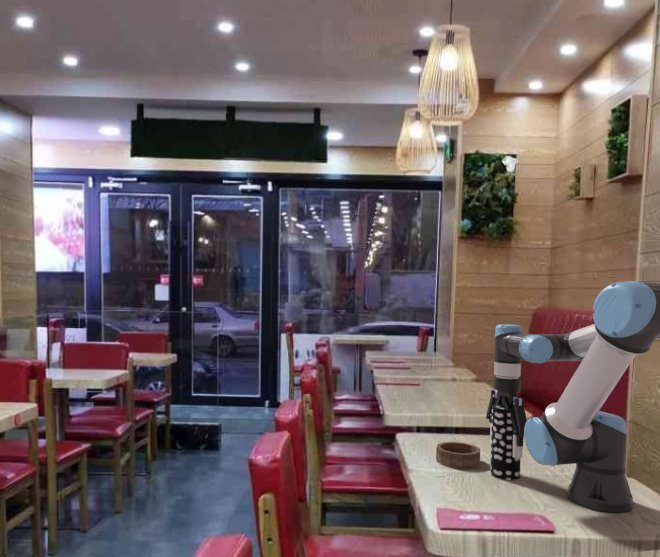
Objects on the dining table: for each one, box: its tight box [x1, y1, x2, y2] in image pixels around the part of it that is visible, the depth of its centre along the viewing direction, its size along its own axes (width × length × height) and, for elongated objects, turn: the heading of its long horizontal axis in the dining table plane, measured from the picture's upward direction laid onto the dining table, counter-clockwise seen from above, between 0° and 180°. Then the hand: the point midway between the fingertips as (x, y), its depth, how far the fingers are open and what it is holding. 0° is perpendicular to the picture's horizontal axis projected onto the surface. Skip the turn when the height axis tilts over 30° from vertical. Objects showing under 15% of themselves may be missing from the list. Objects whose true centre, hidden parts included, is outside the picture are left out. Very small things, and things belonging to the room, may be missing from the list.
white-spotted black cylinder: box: [490, 405, 522, 481], centre depth 159 cm, size 8×8×20 cm
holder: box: [435, 441, 481, 470], centre depth 170 cm, size 13×13×4 cm
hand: (505, 450), depth 159 cm, fingers open, 11 cm apart
